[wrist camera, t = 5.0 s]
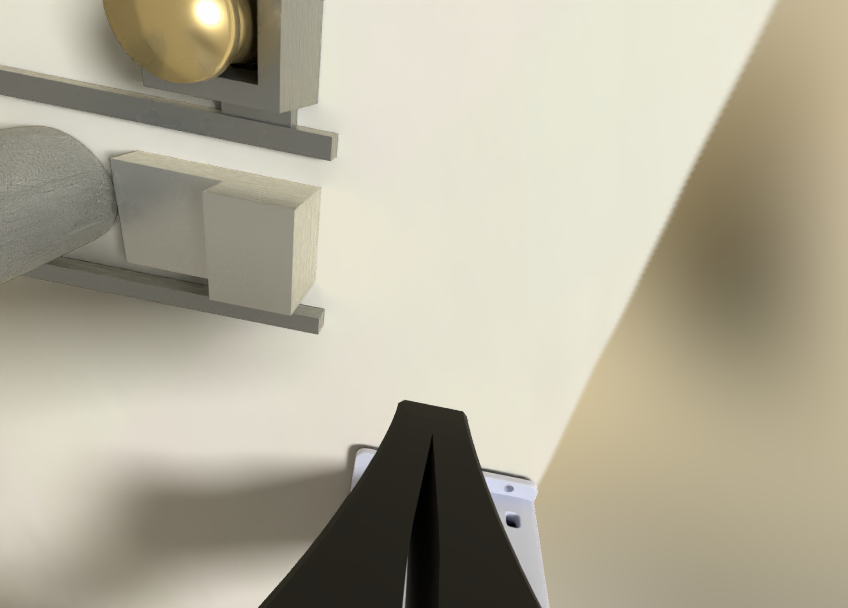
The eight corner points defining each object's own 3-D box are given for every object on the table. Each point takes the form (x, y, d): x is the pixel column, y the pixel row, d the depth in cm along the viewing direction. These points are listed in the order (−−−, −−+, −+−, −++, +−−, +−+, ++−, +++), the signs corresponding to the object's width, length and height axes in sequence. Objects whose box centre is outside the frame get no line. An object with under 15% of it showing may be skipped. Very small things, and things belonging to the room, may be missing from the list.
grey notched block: (322, 187, 17) (294, 210, 14) (315, 280, 19) (290, 315, 16) (139, 150, 17) (78, 166, 14) (152, 247, 19) (100, 277, 16)
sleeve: (338, 133, 16) (332, 136, 15) (323, 324, 20) (317, 334, 19) (-47, 55, 16) (-72, 55, 15) (15, 263, 20) (-2, 270, 19)
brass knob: (300, -19, 13) (225, -56, 9) (297, 85, 14) (230, 93, 10) (207, -39, 13) (90, -83, 9) (212, 67, 14) (113, 70, 10)
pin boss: (324, -32, 13) (282, -60, 10) (316, 129, 16) (278, 145, 13) (201, -57, 13) (122, -93, 10) (210, 107, 16) (147, 118, 13)
